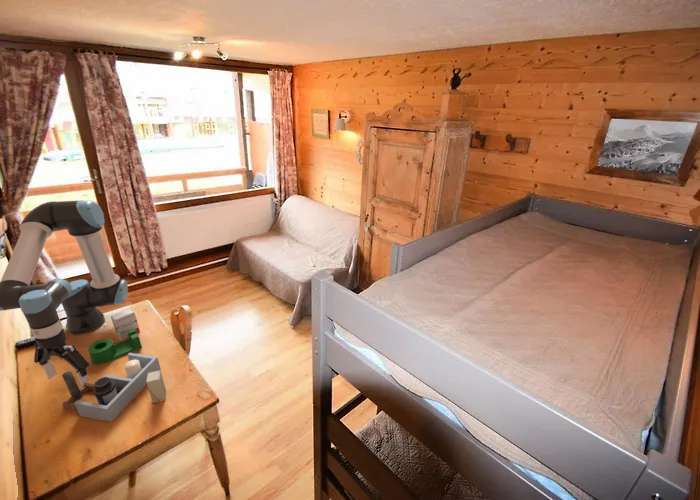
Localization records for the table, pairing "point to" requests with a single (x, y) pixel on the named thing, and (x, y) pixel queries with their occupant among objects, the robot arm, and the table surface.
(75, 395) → the wooden frame with peg
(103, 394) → the pill bottle
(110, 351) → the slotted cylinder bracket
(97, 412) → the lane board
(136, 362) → the cream canister
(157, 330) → the table surface
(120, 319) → the ink box
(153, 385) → the box
